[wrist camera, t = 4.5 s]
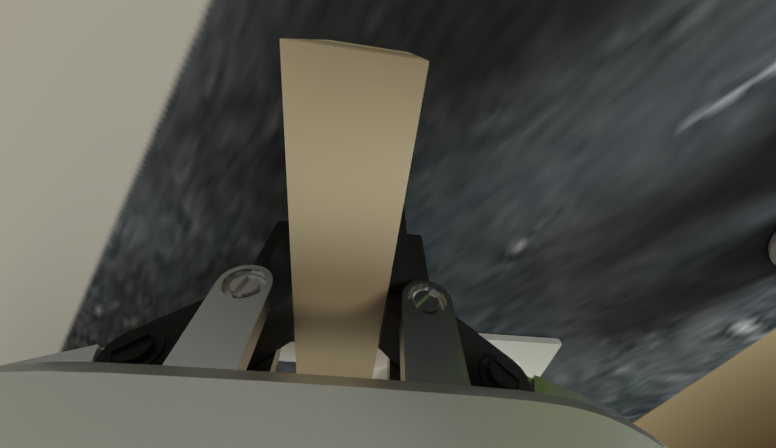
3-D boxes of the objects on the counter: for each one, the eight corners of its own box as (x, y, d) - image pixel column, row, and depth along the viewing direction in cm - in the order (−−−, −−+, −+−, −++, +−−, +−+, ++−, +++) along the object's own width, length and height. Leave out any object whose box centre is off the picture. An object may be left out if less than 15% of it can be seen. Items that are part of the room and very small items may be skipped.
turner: (233, 25, 9) (88, 9, 4) (496, 65, 9) (590, 85, 5) (271, 346, 16) (231, 453, 12) (412, 356, 17) (422, 461, 13)
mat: (370, 325, 21) (370, 331, 20) (558, 338, 22) (562, 344, 22) (357, 413, 27) (357, 419, 27) (504, 419, 28) (506, 425, 28)
